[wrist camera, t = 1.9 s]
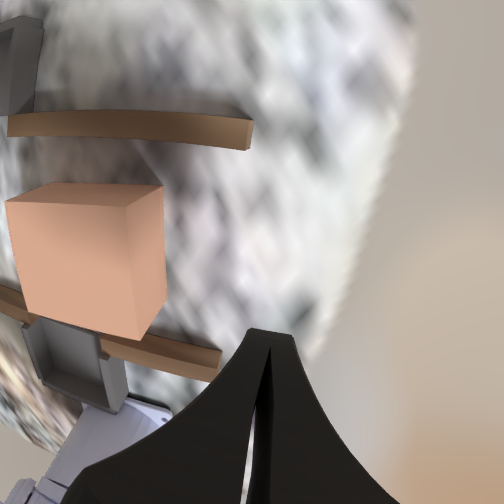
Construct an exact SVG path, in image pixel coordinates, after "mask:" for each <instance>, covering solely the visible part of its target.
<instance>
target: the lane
mask: <svg viewBox="0 0 504 504" xmlns="http://www.w3.org/2000/svg"><path fill="white" fill-rule="evenodd" d="M253 124H254V120H246V119H239V118H231V117H222V116H213V115H202V114H191V113H178V112H162V111H140V110H73V111H51V112H37V113H25V114H16V115H8V131H7V137H22V136H84V137H110V138H128V139H143V140H156V141H167V142H178V143H187V144H197V145H205V146H213V147H221V148H229V149H236V150H243V151H245V150H247V149H249V148H250V144H251V137H252V130H253ZM0 312H1V313H4V314H6V315H8V316H10V317H12V318H14V319H17V320H19V321H21V322H23V323H26V324H28V325H30V326H31V325H32V324H33V323H34V322H35V321H36V320H37V319H39V318H40V317H41V315H37V314H34V313H31V312H28V309H27V306H26V302H25V299H24V295H23V294H22V293H19V292H17V291H14V290H12V289H9V288H7V287H4V286H2V285H0ZM100 342H101V348H102V353H104V354H107V355H110V356H113V357H116V358H119V359H122V360H126V361H129V362H132V363H136V364H139V365H142V366H146V367H149V368H153V369H157V370H160V371H164V372H168V373H172V374H175V375H179V376H183V377H187V378H192V379H196V380H200V381H205V382H209V383H211V382H212V381H213V380H214V379H215V377H216V376H217V375H218V373H219V370H220V367H221V359H222V351H218V350H213V349H209V348H204V347H199V346H195V345H191V344H186V343H182V342H178V341H174V340H170V339H166V338H162V337H158V336H154V335H150V334H146V333H145V334H144V335H143V337H142V339H141V340H140V341H138V340H133V339H129V338H124V337H120V336H115V335H111V334H107V333H103V334H102V336H101V337H100Z"/></svg>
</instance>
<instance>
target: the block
mask: <svg viewBox="0 0 504 504" xmlns="http://www.w3.org/2000/svg"><path fill="white" fill-rule="evenodd" d="M5 209H6V216H7V222H8V228H9V234H10V239H11V245H12V250H13V254H14V259H15V264H16V268H17V272H18V276H19V280H20V284H21V288H22V292H23V295H24V299H25V302H26V306H27V309H28V312H31V313H34V314H37V315H41V316H44V317H47V318H51V319H54V320H58V321H61V322H65V323H68V324H72V325H76V326H79V327H83V328H87V329H91V330H95V331H99V332H103V333H107V334H111V335H115V336H120V337H124V338H129V339H133V340H138V341H140V340H141V339H142V337H143V335H144V334H145V332H146V331H147V329H148V328H149V326H150V325H151V323H152V321H153V320H154V318H155V317H156V315H157V314H158V312H159V311H160V309H161V308H162V306H163V304H164V303H165V301H166V300H167V298H168V297H167V282H166V264H165V241H164V195H163V186H161V185H139V184H110V183H50V184H47V185H44V186H42V187H39V188H36V189H34V190H31V191H29V192H26V193H24V194H21V195H19V196H16V197H14V198H11V199H9V200H7V201H5Z"/></svg>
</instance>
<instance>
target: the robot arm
mask: <svg viewBox="0 0 504 504" xmlns="http://www.w3.org/2000/svg"><path fill="white" fill-rule="evenodd" d="M81 404H82V406H83V409H84V411H83V413H82V414H81V416H80V417H79V419H78V421H77V422H76V424H75V425H74V427H73V429H72V430H71V432H70V434H69V435H68V437H67V439H66V440H65V442H64V444H63V445H62V447H61V449H60V450H59V452H58V454H57V455H56V457H55V459H54V460H53V462H52V464H51V466H50V467H49V469H48V471H47V473H46V474H45V476H43V477H42V478H41V480H40V482H39V484H38V485H37V487H35V486H34V485H35V484H36V481H34V480H33V479H32V478H28V479H20V480H19V481H18V482H17V483H16V485H15V486H14V488H13V489H12V491H11V492H10V494H9V496H8V497H7V499H6V501H5V503H4V504H240V502H241V494H242V487H243V480H244V473H245V466H246V458H247V451H248V444H249V437H250V430H251V424H252V417H253V413H254V410H255V406H256V410H255V427H254V443H253V459H252V470H251V478H250V483H249V489H248V494H247V500H246V504H400V503H398V502H397V501H396V500H395V499H394V498H392V497H391V496H390V495H389V494H388V493H387V492H386V491H385V490H384V489H383V488H382V487H381V486H380V485H379V484H378V483H377V482H376V481H375V480H374V479H373V478H372V477H371V476H370V475H369V473H368V472H367V471H366V470H365V469H364V468H363V466H362V465H361V464H360V463H359V462H358V460H357V459H356V458H355V457H354V456H353V455H352V453H351V452H350V451H349V449H348V448H347V446H346V445H345V444H344V442H343V441H342V440H341V438H340V437H339V435H338V434H337V432H336V431H335V429H334V427H333V426H332V424H331V423H330V421H329V420H328V418H327V416H326V414H325V413H324V411H323V409H322V407H321V405H320V403H319V401H318V400H317V397H316V395H315V393H314V391H313V389H312V387H311V385H310V382H309V380H308V378H307V376H306V373H305V371H304V368H303V366H302V363H301V360H300V358H299V355H298V352H297V348H296V345H295V341H294V338H293V337H292V335H289V334H283V333H277V332H272V331H266V330H261V329H255V328H250V329H248V330H247V332H246V335H245V337H244V339H243V341H242V342H241V344H240V346H239V347H238V349H237V350H236V352H235V353H234V355H233V356H232V358H231V359H230V360H229V362H228V363H227V364H226V365H225V367H224V368H223V369H222V371H221V372H220V373H219V374H218V375H217V376H216V377H215V379H214V380H213V381H212V382H211V383H210V384H209V385H208V386H207V387H206V388H205V389H204V391H203V392H201V393H200V394H199V395H198V396H197V397H196V398H195V399H194V400H193V401H192V402H191V403H190V404H189V405H188V406H186V407H185V408H184V409H183V410H182V411H181V412H179V413H178V414H177V415H175V416H174V417H173V418H172V413H171V411H170V410H168V409H165V408H162V407H158V406H155V405H152V404H148V403H145V402H142V401H138V400H135V399H132V398H129V397H126V398H125V400H124V402H123V404H122V406H121V408H120V409H119V411H118V412H117V414H116V415H113V414H110V413H108V412H105V411H102V410H100V409H97V408H95V407H92V406H90V405H87V404H85V403H82V402H81ZM0 504H3V503H2V502H1V501H0Z"/></svg>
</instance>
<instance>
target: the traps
mask: <svg viewBox="0 0 504 504" xmlns="http://www.w3.org/2000/svg"><path fill="white" fill-rule="evenodd" d="M42 23H43V21H41V20H37V19H32V18H28V17H23V16H18V17H16V18H13V19H10V20H8V21H5V22H3V23H1V24H0V116H7V115H16V114H25V113H33V103H34V93H35V84H36V76H37V68H38V62H39V55H40V49H41V44H42V39H43V34H44V29H41V27H42ZM21 329H22V332H23V336H24V339H25V342H26V345H27V348H28V351H29V354H30V357H31V360H32V363H33V365H34V368H35V371H36V373H37V376H38V378H39V379H41V380H42V383H43V385H44V386H47V387H49V388H51V389H53V390H55V391H57V392H59V393H62V394H64V395H66V396H68V397H71V398H73V399H75V400H78V401H80V402H82V403H85V404H87V405H90V406H92V407H95V408H97V409H100V410H102V411H105V412H108V413H110V414H113V415H116V414H117V412H118V411H119V409H120V408H121V406H122V404H123V402H124V400H125V398H126V397H127V395H128V393H129V391H128V385H127V379H126V372H125V366H124V360H122V359H119V358H116V357H113V356H110V355H107V354H104V353H102V348H101V342H100V337H101V336H102V335H100V334H97V333H94V332H91V331H88V330H85V329H82V328H79V327H76V326H73V325H70V324H67V323H65V322H61V321H58V320H54V319H51V318H47V317H44V316H41V317H40V318H39V319H37V320H36V321H35V322H34V323H33V324H32V325H31V326H30V325H28V324H26V323H25V324H24V325H23V326H22V327H21Z"/></svg>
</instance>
